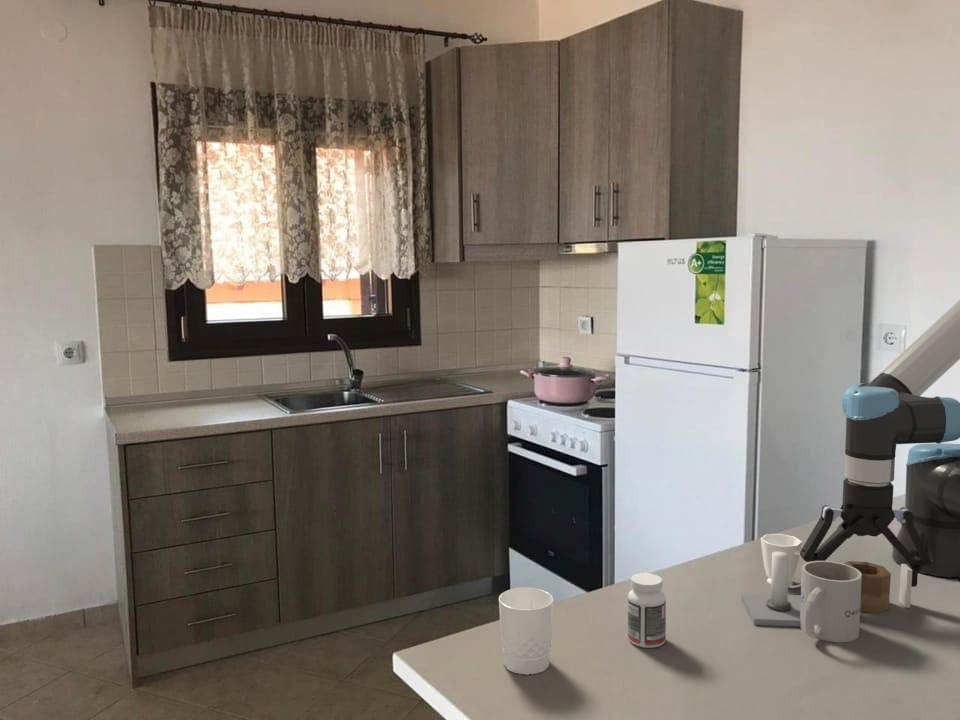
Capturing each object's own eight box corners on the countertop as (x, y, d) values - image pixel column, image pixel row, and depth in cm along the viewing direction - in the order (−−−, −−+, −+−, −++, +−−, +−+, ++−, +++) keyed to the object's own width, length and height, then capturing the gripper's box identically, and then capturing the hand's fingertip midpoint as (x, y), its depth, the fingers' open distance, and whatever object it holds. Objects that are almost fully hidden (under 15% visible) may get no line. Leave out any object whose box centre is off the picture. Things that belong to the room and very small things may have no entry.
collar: (877, 595, 139) (879, 562, 138) (893, 613, 132) (895, 578, 131) (834, 593, 140) (835, 560, 139) (847, 611, 133) (849, 576, 132)
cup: (777, 572, 150) (778, 530, 149) (823, 591, 141) (825, 546, 140) (750, 580, 147) (752, 537, 146) (796, 599, 138) (798, 554, 137)
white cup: (537, 682, 112) (537, 614, 111) (489, 668, 116) (488, 602, 115) (562, 659, 119) (562, 594, 117) (516, 646, 123) (515, 583, 121)
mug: (820, 615, 133) (823, 556, 132) (870, 634, 126) (873, 573, 125) (773, 634, 126) (775, 573, 125) (823, 656, 119) (825, 591, 118)
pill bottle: (667, 635, 126) (668, 574, 124) (663, 651, 120) (664, 588, 119) (630, 630, 128) (631, 569, 126) (624, 646, 122) (625, 583, 121)
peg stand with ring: (801, 601, 137) (803, 544, 136) (819, 627, 127) (821, 566, 126) (741, 598, 139) (742, 542, 137) (753, 624, 129) (755, 564, 127)
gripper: (938, 476, 136) (930, 596, 138) (784, 472, 139) (780, 590, 141) (958, 488, 128) (950, 615, 131) (796, 484, 131) (791, 608, 134)
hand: (862, 602), depth 136 cm, fingers open, 13 cm apart
